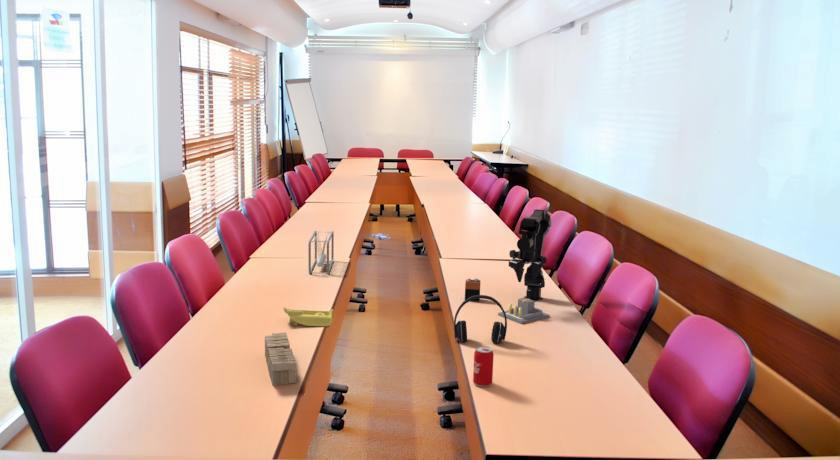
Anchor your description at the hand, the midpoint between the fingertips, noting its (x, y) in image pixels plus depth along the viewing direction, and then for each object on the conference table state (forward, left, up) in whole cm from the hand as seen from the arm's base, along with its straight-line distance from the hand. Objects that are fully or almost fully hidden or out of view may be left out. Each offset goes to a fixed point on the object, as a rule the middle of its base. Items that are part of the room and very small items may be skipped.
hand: (526, 280), depth 295 cm
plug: (+8, +8, -12) cm, 16 cm away
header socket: (+8, +8, -13) cm, 17 cm away
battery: (+12, -22, -13) cm, 28 cm away
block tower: (+120, +2, -13) cm, 121 cm away
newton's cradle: (+42, -111, -13) cm, 119 cm away
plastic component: (+90, -35, -13) cm, 97 cm away
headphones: (+46, +20, -13) cm, 52 cm away
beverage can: (+71, +50, -13) cm, 88 cm away
